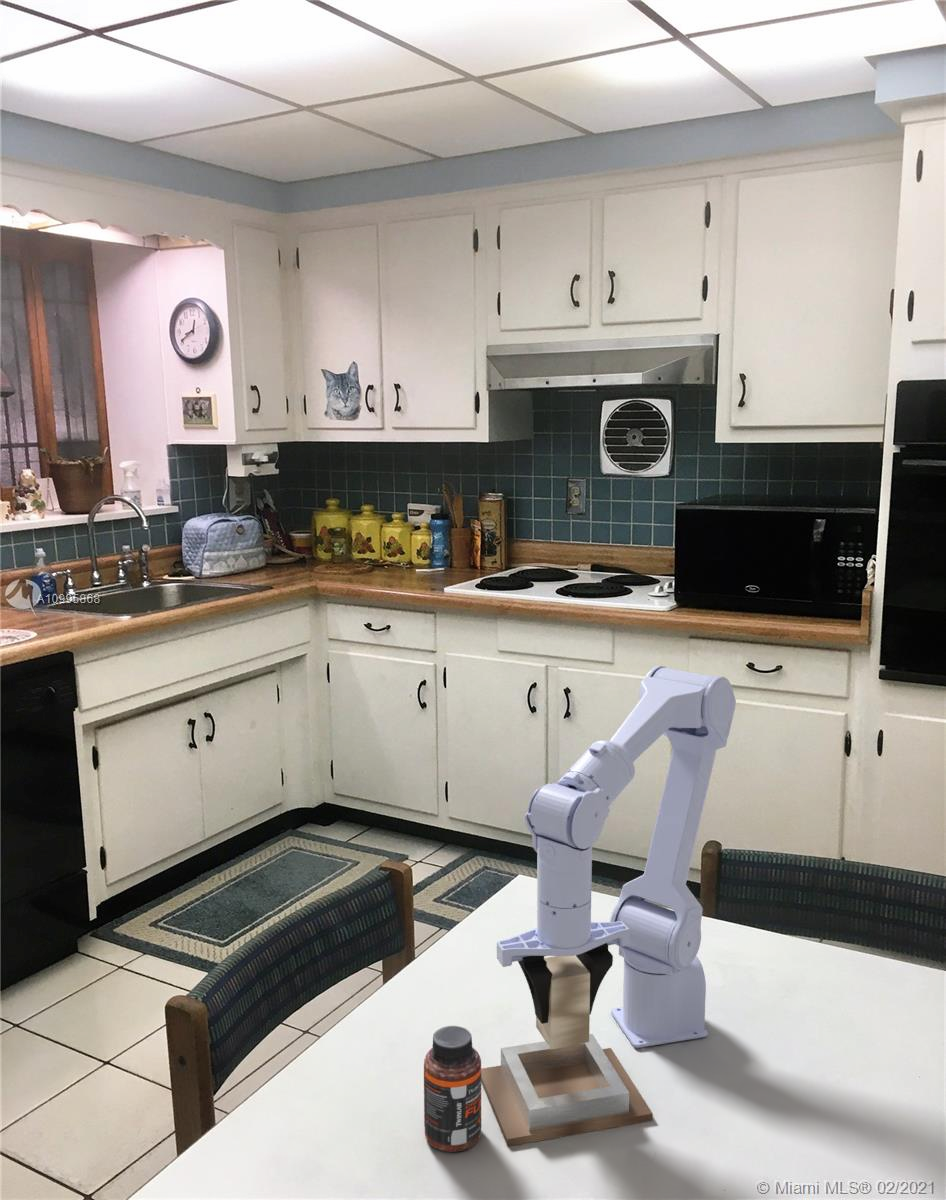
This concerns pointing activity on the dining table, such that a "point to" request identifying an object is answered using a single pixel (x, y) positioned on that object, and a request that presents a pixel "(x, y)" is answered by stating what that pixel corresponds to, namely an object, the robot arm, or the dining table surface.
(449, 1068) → the supplement bottle
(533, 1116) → the collar board
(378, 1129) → the dining table surface
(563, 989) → the peg
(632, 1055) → the dining table surface
